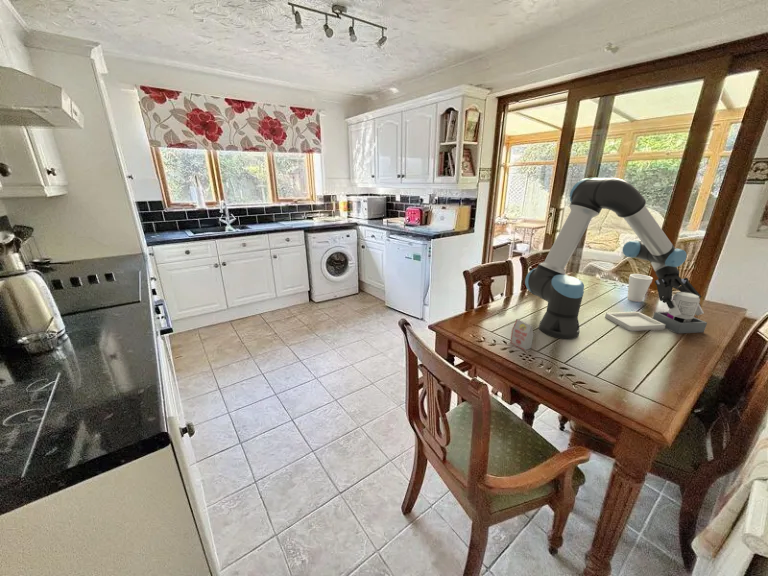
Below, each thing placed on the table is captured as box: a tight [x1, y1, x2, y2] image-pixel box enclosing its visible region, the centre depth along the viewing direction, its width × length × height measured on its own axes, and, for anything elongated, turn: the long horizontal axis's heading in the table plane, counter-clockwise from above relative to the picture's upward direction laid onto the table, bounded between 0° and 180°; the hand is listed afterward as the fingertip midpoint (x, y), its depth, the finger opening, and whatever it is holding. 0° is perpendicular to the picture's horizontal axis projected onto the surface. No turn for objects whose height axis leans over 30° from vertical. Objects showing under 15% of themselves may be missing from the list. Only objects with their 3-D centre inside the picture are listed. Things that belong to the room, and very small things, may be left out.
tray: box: [604, 311, 665, 332], centre depth 140 cm, size 16×14×2 cm
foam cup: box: [626, 273, 654, 303], centre depth 165 cm, size 10×9×13 cm
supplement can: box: [667, 291, 701, 323], centre depth 134 cm, size 8×8×15 cm
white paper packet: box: [509, 318, 534, 351], centre depth 121 cm, size 4×7×10 cm, turn 30°
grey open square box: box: [652, 310, 708, 334], centre depth 136 cm, size 12×12×4 cm
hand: (688, 314), depth 132 cm, fingers open, 10 cm apart
